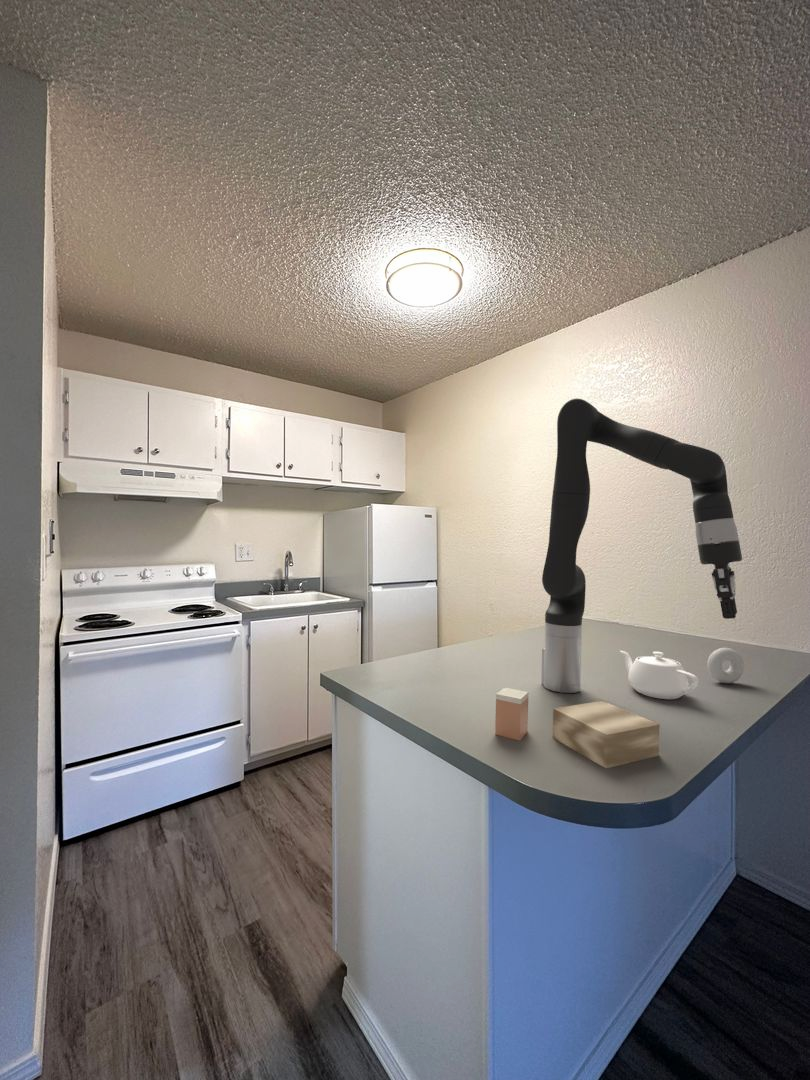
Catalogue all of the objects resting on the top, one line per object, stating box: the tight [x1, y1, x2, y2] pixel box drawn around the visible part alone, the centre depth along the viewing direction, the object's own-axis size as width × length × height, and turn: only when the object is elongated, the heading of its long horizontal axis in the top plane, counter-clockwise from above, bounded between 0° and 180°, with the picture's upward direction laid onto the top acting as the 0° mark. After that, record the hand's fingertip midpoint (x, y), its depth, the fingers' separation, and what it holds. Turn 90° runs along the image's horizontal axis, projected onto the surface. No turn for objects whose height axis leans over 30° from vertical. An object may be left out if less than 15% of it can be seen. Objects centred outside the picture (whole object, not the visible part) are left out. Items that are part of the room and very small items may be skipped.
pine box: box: [552, 700, 660, 769], centre depth 85 cm, size 13×13×6 cm
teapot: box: [619, 650, 699, 700], centre depth 118 cm, size 22×14×11 cm, turn 24°
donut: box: [706, 647, 746, 684], centre depth 127 cm, size 10×4×10 cm, turn 92°
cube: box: [494, 687, 529, 741], centre depth 90 cm, size 5×5×8 cm
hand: (730, 616), depth 96 cm, fingers open, 8 cm apart
